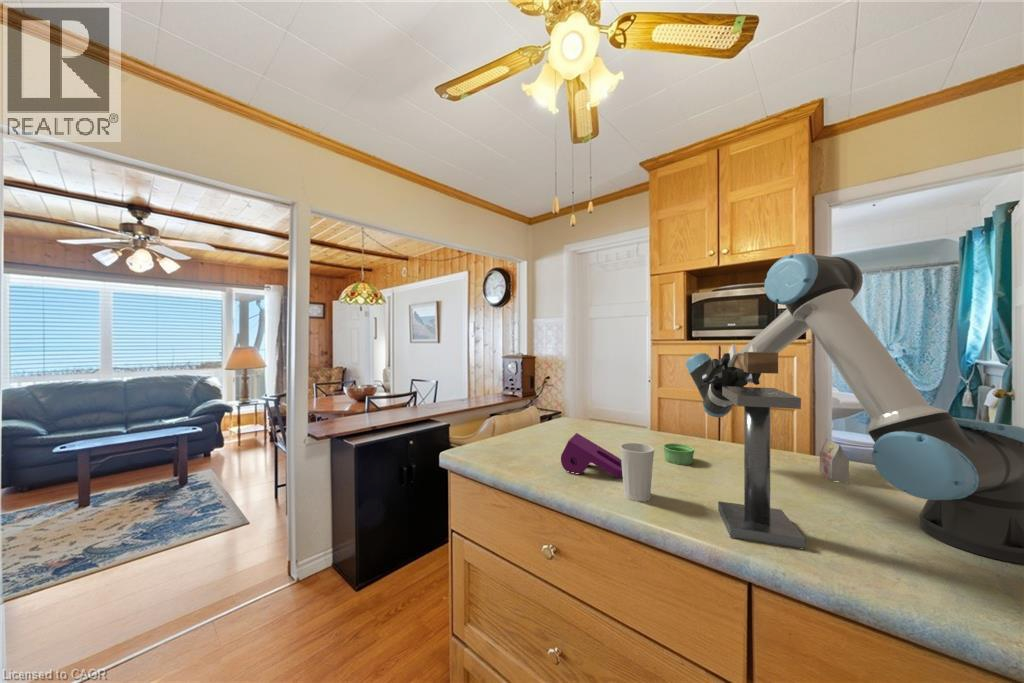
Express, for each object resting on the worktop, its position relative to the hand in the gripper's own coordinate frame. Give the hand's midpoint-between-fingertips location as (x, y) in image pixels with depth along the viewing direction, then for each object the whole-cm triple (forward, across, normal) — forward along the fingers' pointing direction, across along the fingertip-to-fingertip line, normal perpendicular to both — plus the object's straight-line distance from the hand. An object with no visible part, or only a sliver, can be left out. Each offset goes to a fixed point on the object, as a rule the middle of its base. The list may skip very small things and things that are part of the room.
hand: (744, 349), depth 83 cm
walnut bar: (0, 0, -5) cm, 5 cm away
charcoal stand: (-10, 0, -36) cm, 37 cm away
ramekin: (-45, +11, -17) cm, 49 cm away
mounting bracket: (-29, +35, -26) cm, 52 cm away
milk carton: (-43, -28, -17) cm, 54 cm away
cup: (-17, +23, -32) cm, 43 cm away
